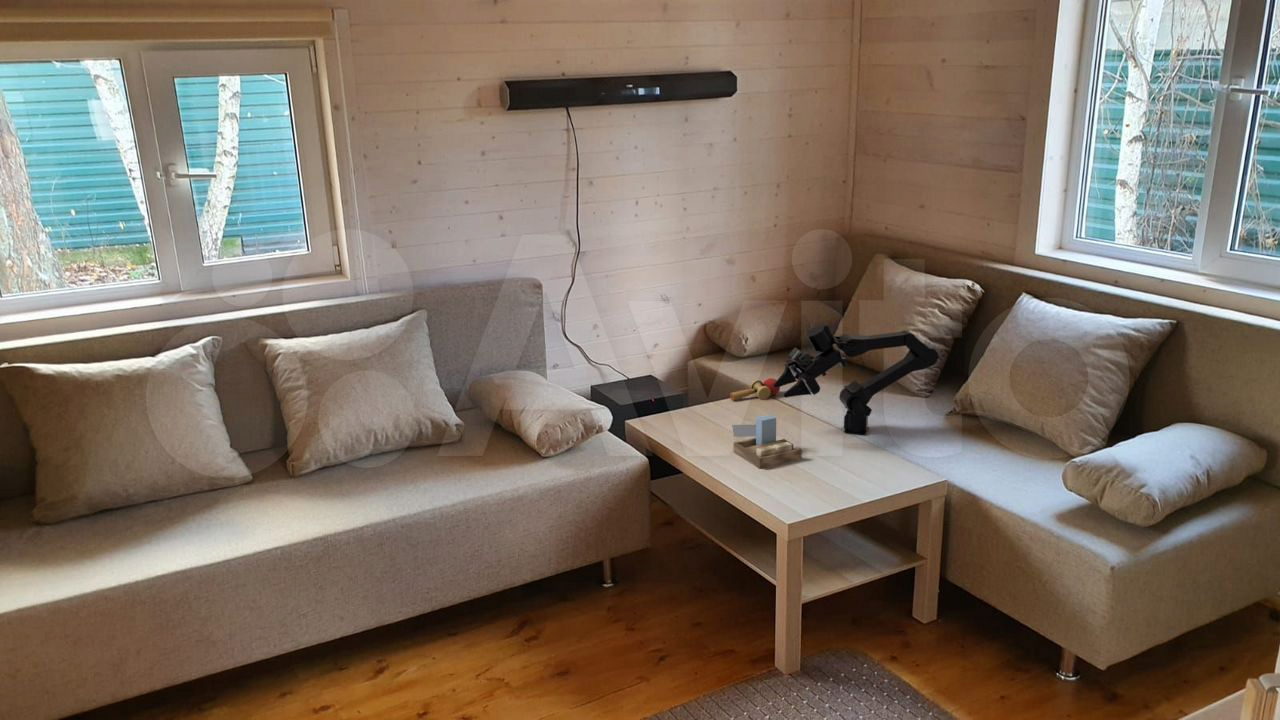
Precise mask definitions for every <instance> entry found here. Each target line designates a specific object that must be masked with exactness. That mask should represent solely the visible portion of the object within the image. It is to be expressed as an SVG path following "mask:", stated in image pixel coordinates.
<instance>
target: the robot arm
mask: <svg viewBox="0 0 1280 720" xmlns="http://www.w3.org/2000/svg"><path fill="white" fill-rule="evenodd" d="M805 334H806V335H805V336H806V338H807V339H808V341H809V343H810V344H811V346H812V348H813V350H814V352H819V353H818V354H816V355H815V356H814V355H811V354H809V353H808V352H806V351H804V352H802V351H801V350H799V349H798V348H797V347H794V348H793V349H792V350H791V352H790V353H789V354H788V356H789V357H790V358H788V359H786V360H785V361H784V362H785V364H784V369H783V370H784V371H783V372H782V374H781V375H780V376H779V377H778V379H776V380H777V381H776V382H775V383H774V385H773V386H774V387H775V388H777V387H780V388H781V387H783V386H786V385H790V384H792V383H795V382H796V383H795V384H793V385H792V386H791V387H790V388H789V389H788V390H786V391H785V392H784V393H783V394H782V396H783V398H791V397H798V396H807V395H810V396H811V395H813V396H815V395H817V394H818V393H820V390H821V387H820V385H819V382H817V380H816V379H817V378H819V377H820V376H823V377H825V376H826V375H827V372H828V371H830V370H831V369H833V368H835V367H836V366H838V365H840V366H841V367H842V368H843V369H845V368H846V365H847V362H848V359H847V358H848V357H849V358H854V357H859V356H862V355H864V354H866V353H867V352H870V351H874V350H882V349H883V350H884V349H891V348H899V347H906V348H907V349H908V351H907V353H906V354H905V356H904V358H902V359H900V361H897V362H896V363H894V364H893V365H891V366H889V367H887V368H886V369H884V370H883V371H881V372H880V373H878V374H876V375H874V376H873V377H871V378H870V379H868V380H866V381H864V382H859V381H857V380H853V381H852V382H850V383H849V384H847V385H844V386H843V387H844V388H843V389H841V391H840V393H839V397H838V398H839V401H840V402H841V404H842V405H844V408H845V409H846V413H845V415H844V417H843V429H844V431H843V432H844V433H845V434H852V435H853V434H854V435H863V436H866V434H867V432H868V430H869V417H870V416H871V413H872V411H873V409H872V408H871V407H870V406H868V404H869V402H870V401H871V399H872V398H873V397H874V396H875V395H876V394H878V393H879V392H881V391H883V390H884V389H886V388H887V387H890V386H892V384H894V383H896V382H898V381H900V380H901V379H903V378H904V377H906V376H908V375H909V374H911V373H913V372H917V371H920V370H922V371H923V370H925V369H929V368H930V367H933V366H934V365H936V364H938V359H939V352H938V351H937V350H936V349H935V348H933V347H931V346H930V345H929V344H926V342H925V343H924V342H922V341H921V340H920V339H919V338H918V337H916V335H915V334H913V333H912V332H911V331H909V330H901V331H896V332H895V331H894V332H888V333H886V332H885V333H880V334H873V335H872V334H871V335H861V334H857V333H855V334H854V333H845V334H841V335H839V336H838V335H832V332H831V330H830V327H829V326H828V325H827V323H826V324H825V323H823V324H822V325H817V326H815V327H811V328H810V329H809V330H807V332H806V333H805ZM834 346H835V347H836V348H837V349H835V347H834ZM841 353H842V354H844V355H845V356H847V358H846V357H844V356H842V354H841Z"/></svg>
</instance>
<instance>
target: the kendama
mask: <svg viewBox="0 0 1280 720" xmlns="http://www.w3.org/2000/svg"><path fill="white" fill-rule="evenodd" d="M777 380H778V379H775V378H773V377H771V378H770V377H769V378H767V379H766V380H764V382H762V381H761V380H760V379H755V380H753V381H752V382H751V384H750V388H749V389H742V390H738V391H734V392H733V391H732V392H730V393H729V397H730V400H731V401H732V402H735V401H737V400H740V399H744V398H746V397H749V396H752V395H754V394H756V396H757V397H758V398H759V399H760V400H767V399H769V397H770V396H775V395H777V394H778V393H779V392H780V389H781V386H780V387H777V388H775V387H774V386H773V385H774V383H775V382H776V381H777Z"/></svg>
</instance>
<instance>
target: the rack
mask: <svg viewBox="0 0 1280 720" xmlns="http://www.w3.org/2000/svg"><path fill="white" fill-rule="evenodd" d="M784 442H789V443H790V444H792V450H790V451H786V452H781V453H777V454H773V455H769V456H764V457H759V456H757V455H756V449H758V448H762V447H766V446H773V445H776V444H780V443H784ZM802 452H803V448H795V449H794V443H792V442H791V441H788V440H786V439H785V438H782V439H778V440H776V441H773V442H769V443H764V444H760V445H756V437H753V438H748V439H744V440H739V441H735V442H733V453H734V454H735V455H737V456H739V457H740V458H742V459H743V460H744V461H746V462H748V463H750V464H751V465H753V466H754V467H755V468H758V469H759V470H761V469H764V468H768V467H769V468H770V467H773V466H777V465H781V464H786V463H789V462H790V463H791V462H794V461H795V462H796V461H798V460H802V459H803V458H802V457H803V456H802V455H803V454H802Z"/></svg>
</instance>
